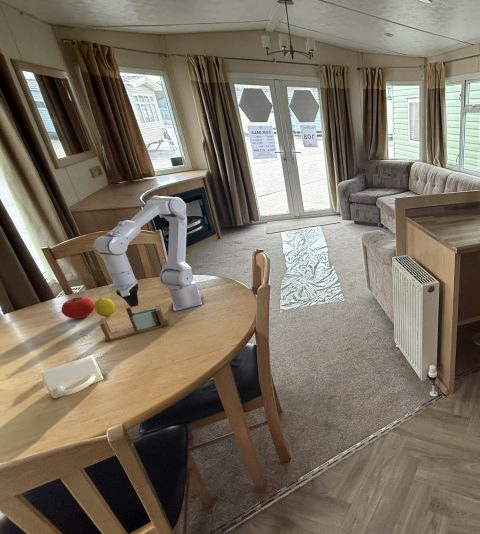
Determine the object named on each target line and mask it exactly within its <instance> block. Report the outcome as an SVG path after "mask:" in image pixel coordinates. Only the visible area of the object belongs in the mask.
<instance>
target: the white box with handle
mask: <svg viewBox="0 0 480 534" xmlns="http://www.w3.org/2000/svg"><path fill="white" fill-rule="evenodd" d="M41 376H42V379H43V382H44V385H45V387H46V389H47V391H48V392H49V394H50V396H51V397H52V398H53V399H58V398H60V397H62V396H69V395H70V396H71V395H73V394H76V393H78V392H80V391H82V390H84V389H86V388H88V387H89V386H90V385H93V384H96V383H99V382H100V381H103V380H104V376H103V374H102V371H101V368H100V367H99V364H98V362H97V360H96V357H94V355H93V354H90V355H88V356H85V357H82V358H79V359H76V360H73V361H70V362H67V363H64V364H61V365H58V366H55V367H52V368H49V369H47V370H44V371H42V373H41Z"/></svg>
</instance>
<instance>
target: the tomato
mask: <svg viewBox="0 0 480 534" xmlns="http://www.w3.org/2000/svg"><path fill="white" fill-rule="evenodd" d="M94 304H95V302H94V301H93V300H92V299H90V298H88V297H85V296H77V297H73V298H71V299H70V298H69V299H68V300H66V301H64V302H63V304H62V306H61V310H60V311H61V313H62V314H63V315H64V316H65V317H67V318H69V319H82V318H86V317H88V316H90V315H91V314H93V312H94V311H95V308H94Z"/></svg>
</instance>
